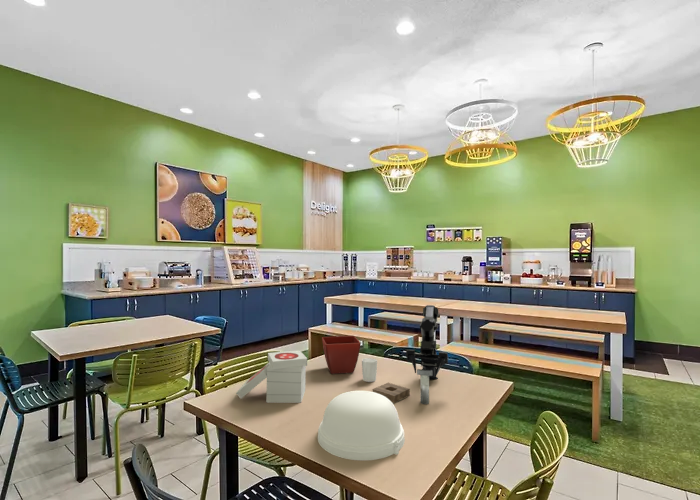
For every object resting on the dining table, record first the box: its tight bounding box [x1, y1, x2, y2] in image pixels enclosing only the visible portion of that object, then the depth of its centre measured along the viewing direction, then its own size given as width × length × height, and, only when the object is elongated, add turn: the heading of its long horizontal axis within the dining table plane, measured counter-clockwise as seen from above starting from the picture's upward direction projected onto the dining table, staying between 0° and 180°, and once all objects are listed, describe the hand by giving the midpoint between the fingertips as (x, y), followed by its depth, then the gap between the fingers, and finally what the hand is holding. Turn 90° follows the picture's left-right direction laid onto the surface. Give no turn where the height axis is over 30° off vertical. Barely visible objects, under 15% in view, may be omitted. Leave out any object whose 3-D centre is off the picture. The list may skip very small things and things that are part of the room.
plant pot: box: [321, 335, 362, 375], centre depth 200 cm, size 19×19×17 cm
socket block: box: [372, 382, 411, 404], centre depth 163 cm, size 12×12×3 cm
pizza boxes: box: [236, 350, 308, 404], centre depth 161 cm, size 19×30×18 cm, turn 90°
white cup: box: [361, 357, 378, 383], centre depth 184 cm, size 8×8×10 cm
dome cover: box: [317, 390, 406, 461], centre depth 125 cm, size 32×30×14 cm
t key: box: [416, 368, 432, 405], centre depth 155 cm, size 4×6×14 cm, turn 74°
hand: (425, 373), depth 161 cm, fingers open, 9 cm apart
